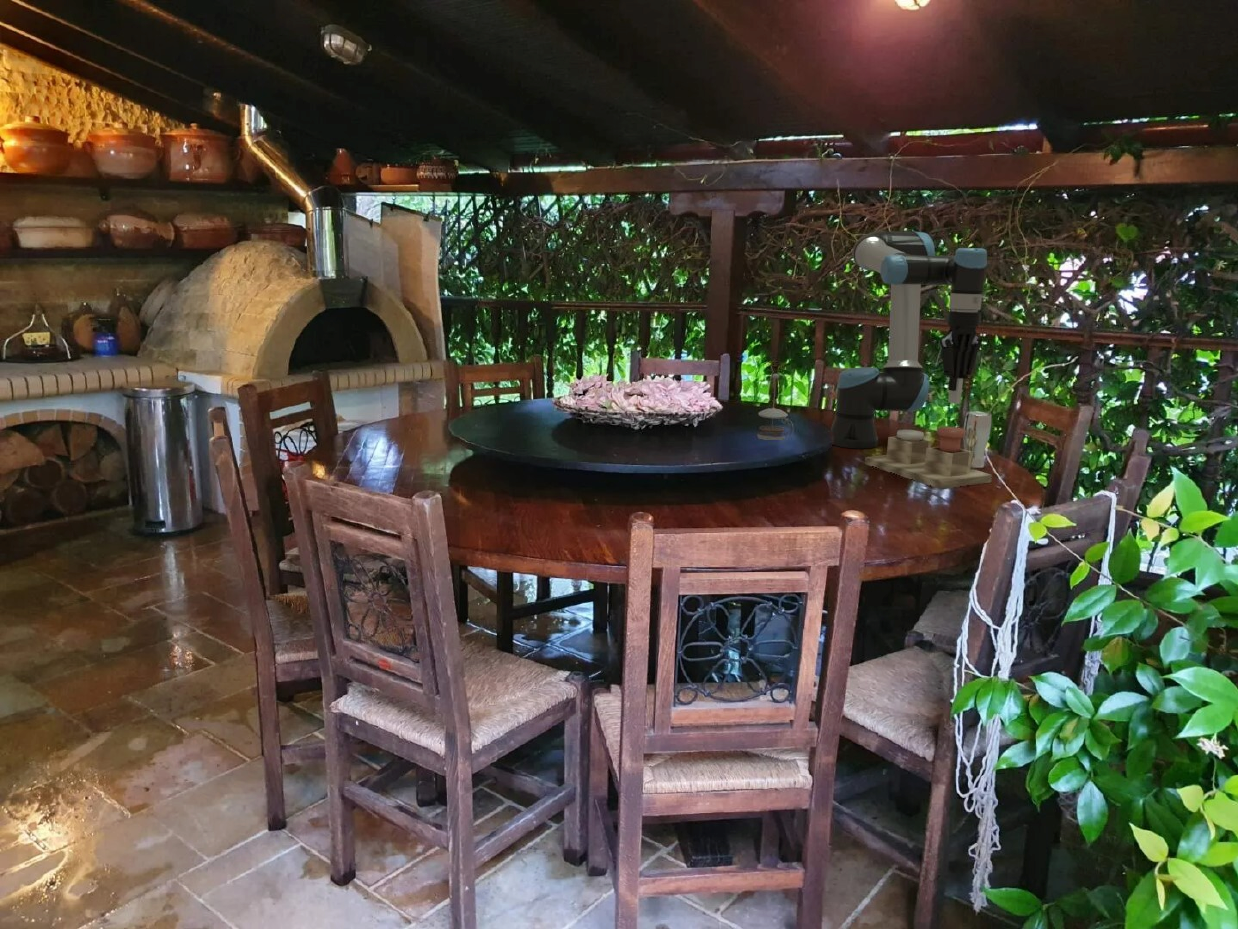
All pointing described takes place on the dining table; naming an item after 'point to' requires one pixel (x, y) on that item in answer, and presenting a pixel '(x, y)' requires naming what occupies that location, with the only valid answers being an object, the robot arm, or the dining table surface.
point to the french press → (772, 414)
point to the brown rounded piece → (950, 438)
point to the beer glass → (977, 436)
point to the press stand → (928, 464)
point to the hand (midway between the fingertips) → (954, 402)
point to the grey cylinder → (910, 435)
